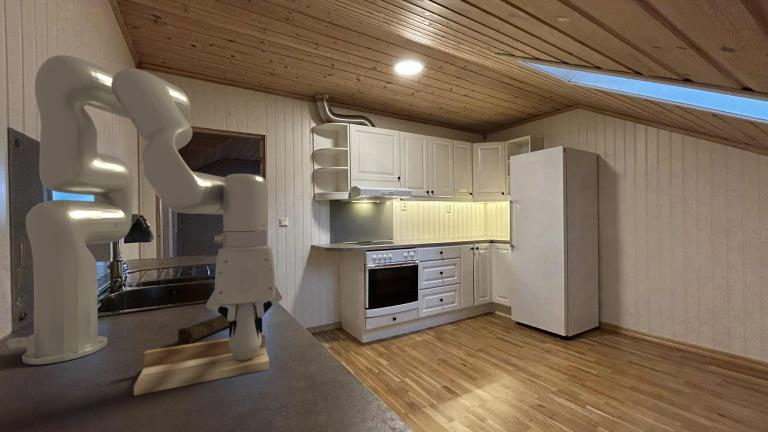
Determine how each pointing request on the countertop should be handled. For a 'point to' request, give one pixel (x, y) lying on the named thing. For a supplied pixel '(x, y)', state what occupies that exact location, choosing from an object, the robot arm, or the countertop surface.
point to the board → (194, 365)
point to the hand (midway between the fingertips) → (245, 337)
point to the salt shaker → (245, 333)
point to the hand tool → (201, 330)
